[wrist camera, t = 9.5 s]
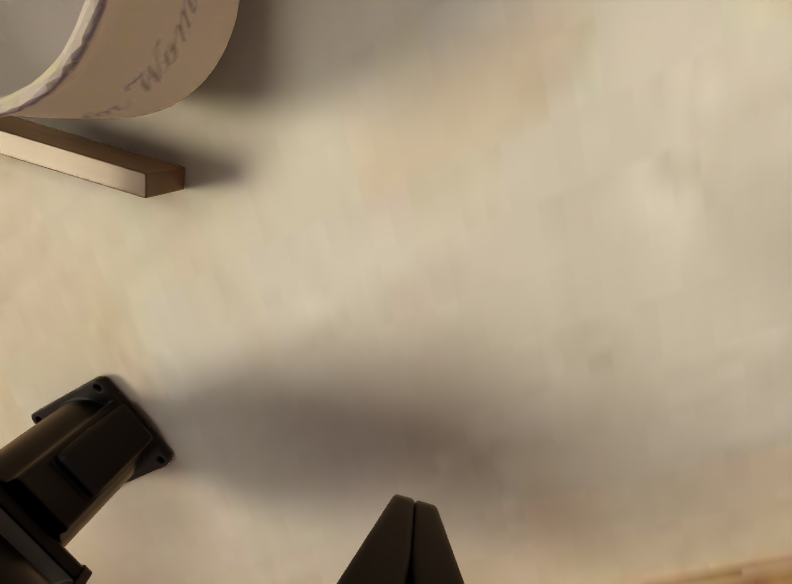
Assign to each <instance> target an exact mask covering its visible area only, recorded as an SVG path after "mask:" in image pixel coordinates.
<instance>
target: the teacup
mask: <svg viewBox="0 0 792 584" xmlns="http://www.w3.org/2000/svg"><path fill="white" fill-rule="evenodd" d="M238 5H239V0H0V117H5V116H25V117H40V118H68V119H115V118H128V117H136V116H141V115H146V114H150V113H153V112H156V111H160V110H162V109H165V108H167V107H169V106H172V105H173V104H175V103H177V102H179V101H180V100H182V99H184V98H185V97H187V96H188V95H189V94H191V93H192V92H193V91H194V90H195V89H196V88H197V87H199V86H200V85H201V84H202V83H203V82H204V81H205V80H206V78H207V77H208V76H209V75H210V74H211V72H212V71H213V70H214V68H215V67H216V65H217V63H218V61H219V60H220V58H221V56H222V54H223V53H224V51H225V49H226V46H227V44H228V42H229V39H230V37H231V34H232V31H233V28H234V24H235V21H236V17H237V11H238Z"/></svg>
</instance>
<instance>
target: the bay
mask: <svg viewBox="0 0 792 584" xmlns="http://www.w3.org/2000/svg"><path fill="white" fill-rule="evenodd" d="M0 154H2V155H6V156H9V157H12V158H15V159H19V160H22V161H25V162H29V163H32V164H35V165H39V166H42V167H45V168H48V169H52V170H55V171H58V172H62V173H65V174H68V175H71V176H75V177H78V178H81V179H85V180H88V181H91V182H95V183H98V184H101V185H104V186H108V187H111V188H114V189H118V190H121V191H124V192H127V193H131V194H134V195H137V196H141V197H144V198H148V197H153V196H157V195H161V194H165V193H170V192H174V191H178V190H183V189H184V177H185V168H184V167H181V166H178V165H174V164H171V163H168V162H164V161H161V160H158V159H154V158H151V157H148V156H144V155H141V154H138V153H134V152H131V151H128V150H124V149H121V148H118V147H114V146H111V145H108V144H104V143H101V142H98V141H94V140H91V139H88V138H84V137H81V136H77V135H74V134H71V133H67V132H64V131H61V130H57V129H54V128H51V127H47V126H44V125H41V124H37V123H34V122H31V121H27V120H24V119H21V118H17V117H14V116H5V117H0Z"/></svg>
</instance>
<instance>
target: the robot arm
mask: <svg viewBox="0 0 792 584" xmlns="http://www.w3.org/2000/svg"><path fill="white" fill-rule="evenodd" d="M32 420H33V421H34V423H35V424H36V425H34V426H33V427H32V428H30V429H29V430H27V431H26V432H24V433H23V434H22V435H20V436H19V437H17V438H16V439H14V440H13V441H12V442H10V443H9V444H7V445H6V446H5V447H3V448H2V449H0V584H86V582H87V581H88V579H89V578H90V576H91V574H92V572H91V571H90V570H89V569H88V568H87V566H86V565H83V566H82V565H81V564H80V563H79V562H78V561H77V560H76V559H75V558H74V557H73V556H72V555H71V554H70V553H69V552H68V551H67V550H66V549H65V548H64V547H65V546H66V545H67V544H68V543H69V542H70V541H71V540H72V539H73V537H74V536H75V535H76V534H77V533H78V532H79V531H80V530H81V529H82V528H83V527H84V526H85V525H86V524H87V523H88V522H89V521H90V519H91V518H92V517H93V516H94V515H95V514H96V513H97V512H98V511H99V510H100V509H101V508H102V507H103V506H104V505H105V504H106V502H107V501H108V500H109V499H110V498H111V497H112V496H113V495H114V494H115V493H116V492H117V491H118V490H119V489H120V488H121V487H122V486H123V484H124V483H126V482H128V481H131V480H133V479H135V478H138V477H140V476H143V475H145V474H147V473H150V472H152V471H154V470H157V469H159V468H161V467H164V466H166V465H167V464H168V463H169V462H170V461H171V460H172V458H173V456H172V453H171V452H170V451H169V450H168V448H167V447H166V446H165V445H164V444H163V443H162V442H161V440H160V439H159V438H158V437H157V436H156V435H155V433H154V432H153V431H152V430H151V429H150V428H149V426H148V425H147V424H146V423H145V422H144V421H143V419H142V418H141V417H140V416H139V415H138V414H137V413H136V411H135V410H134V409H133V408H132V407H131V406H130V404H129V403H128V402H127V401H126V400H125V399H124V397H123V396H122V395H121V394H120V393H119V392H118V390H117V389H116V388H115V387H114V386H113V385H112V384H111V382H110V381H109V380H108V379H107V378H105V377H101V376H99V377H97V378H95V379H93V380H91V381H89V382H88V383H86V384H84V385H82V386H80V387H79V388H77V389H75V390H73V391H71V392H70V393H68V394H66V395H64V396H62V397H61V398H59V399H57V400H55V401H54V402H52V403H50V404H48V405H46V406H45V407H43V408H41V409H39V410H38V411H36V412H35V413H33V414H32ZM337 584H464V581H463V579H462V576H461V573H460V570H459V568H458V565H457V562H456V559H455V556H454V554H453V551H452V548H451V545H450V543H449V540H448V537H447V534H446V532H445V529H444V526H443V523H442V521H441V518H440V515H439V512H438V510H437V508H436V507H435V506H434V505H431V504H428V503H425V502H421V501H416V502H415V503H414V500H413V499H411V498H408V497H404V496H401V495H394V496H393V497H392V499H391V500H390V502H389V504H388V505H387V507H386V508H385V510H384V511H383V513H382V514H381V516H380V517H379V519H378V521H377V522H376V524H375V525H374V527H373V528H372V530H371V531H370V533H369V535H368V536H367V538H366V539H365V541H364V542H363V544H362V545H361V547H360V548H359V550H358V552H357V553H356V555H355V556H354V558H353V559H352V561H351V562H350V564H349V565H348V567H347V569H346V570H345V572H344V573H343V575H342V576H341V578H340V579H339V581H338V583H337Z"/></svg>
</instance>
